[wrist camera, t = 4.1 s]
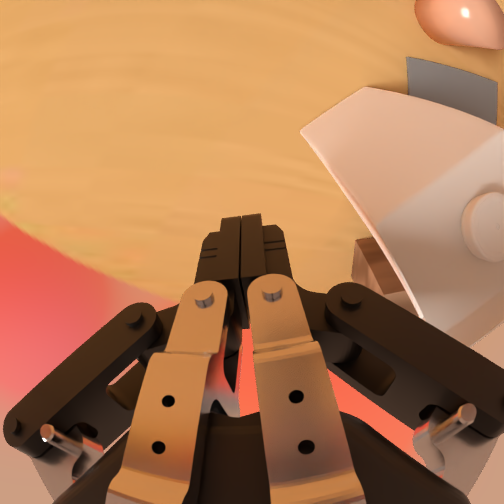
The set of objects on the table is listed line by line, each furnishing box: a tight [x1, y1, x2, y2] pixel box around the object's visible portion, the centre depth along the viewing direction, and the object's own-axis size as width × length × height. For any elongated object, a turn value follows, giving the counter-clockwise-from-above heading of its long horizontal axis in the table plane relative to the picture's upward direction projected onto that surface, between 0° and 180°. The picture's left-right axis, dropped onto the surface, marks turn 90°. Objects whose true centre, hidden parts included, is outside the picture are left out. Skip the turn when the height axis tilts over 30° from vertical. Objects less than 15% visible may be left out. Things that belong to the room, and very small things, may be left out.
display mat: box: [406, 57, 497, 125], centre depth 20 cm, size 16×13×1 cm
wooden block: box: [351, 238, 419, 317], centre depth 25 cm, size 5×5×8 cm
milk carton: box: [300, 87, 504, 348], centre depth 13 cm, size 7×7×19 cm
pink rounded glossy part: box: [415, 0, 504, 50], centre depth 10 cm, size 6×6×7 cm
